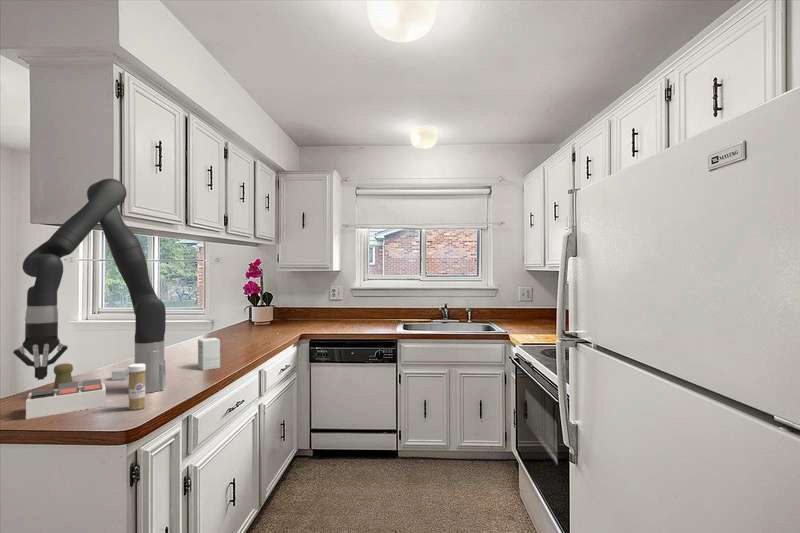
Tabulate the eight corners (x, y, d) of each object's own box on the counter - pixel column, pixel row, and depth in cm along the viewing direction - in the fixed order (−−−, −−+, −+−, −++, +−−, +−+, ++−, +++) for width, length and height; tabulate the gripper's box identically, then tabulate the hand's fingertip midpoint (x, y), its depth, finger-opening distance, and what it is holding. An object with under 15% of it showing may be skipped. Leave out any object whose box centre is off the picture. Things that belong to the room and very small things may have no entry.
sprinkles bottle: (133, 411, 131) (133, 366, 131) (125, 409, 133) (125, 365, 133) (148, 407, 135) (148, 363, 135) (140, 405, 137) (140, 362, 137)
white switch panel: (104, 398, 144) (104, 383, 144) (105, 406, 136) (105, 389, 136) (29, 409, 133) (29, 392, 133) (25, 419, 125) (25, 401, 125)
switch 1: (53, 393, 135) (53, 389, 135) (52, 393, 130) (52, 388, 130) (33, 396, 132) (33, 391, 132) (31, 396, 127) (31, 391, 127)
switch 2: (100, 382, 142) (100, 378, 142) (101, 391, 137) (101, 387, 136) (82, 384, 139) (82, 380, 139) (82, 394, 134) (82, 390, 133)
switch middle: (77, 384, 138) (77, 380, 138) (77, 395, 133) (77, 391, 133) (58, 387, 136) (58, 383, 135) (57, 398, 130) (57, 394, 130)
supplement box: (215, 365, 194) (215, 337, 194) (220, 368, 189) (220, 339, 189) (197, 367, 190) (197, 338, 190) (202, 370, 184) (202, 341, 184)
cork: (78, 393, 150) (78, 362, 150) (65, 398, 144) (65, 365, 144) (60, 394, 150) (60, 362, 150) (47, 399, 144) (47, 366, 144)
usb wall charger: (115, 378, 172) (115, 368, 172) (135, 377, 173) (135, 367, 173) (111, 380, 168) (111, 370, 168) (131, 379, 170) (131, 369, 170)
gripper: (70, 318, 136) (69, 373, 136) (14, 320, 128) (13, 379, 128) (69, 320, 130) (68, 378, 130) (10, 323, 122) (9, 385, 122)
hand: (40, 379), depth 129 cm, fingers closed
